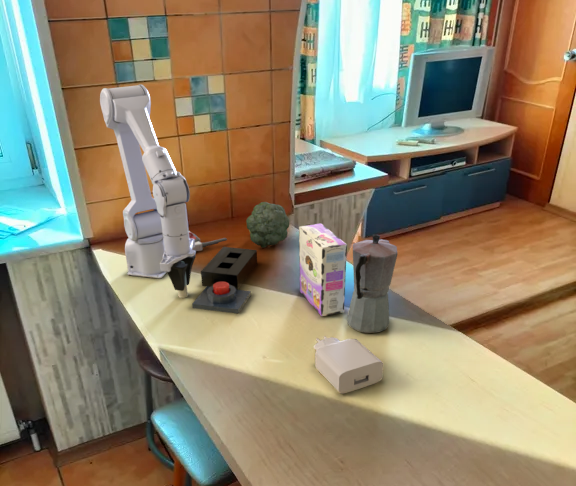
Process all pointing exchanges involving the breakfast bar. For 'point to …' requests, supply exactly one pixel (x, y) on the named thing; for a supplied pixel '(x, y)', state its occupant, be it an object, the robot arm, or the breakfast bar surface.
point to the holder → (229, 267)
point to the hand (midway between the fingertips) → (182, 287)
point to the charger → (347, 364)
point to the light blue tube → (184, 293)
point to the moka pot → (371, 284)
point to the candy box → (322, 268)
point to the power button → (221, 288)
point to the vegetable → (267, 224)
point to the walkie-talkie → (199, 245)
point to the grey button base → (222, 300)
